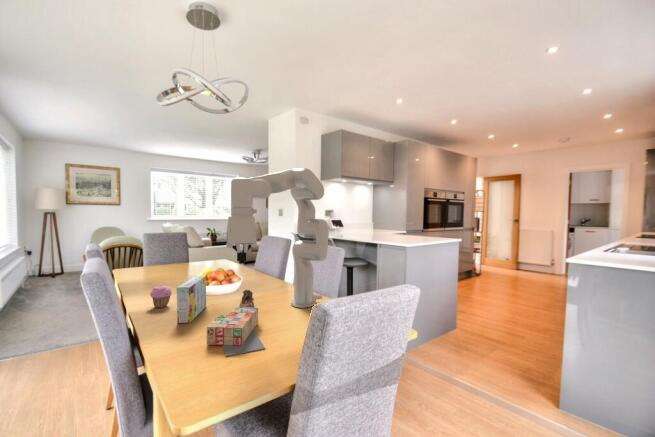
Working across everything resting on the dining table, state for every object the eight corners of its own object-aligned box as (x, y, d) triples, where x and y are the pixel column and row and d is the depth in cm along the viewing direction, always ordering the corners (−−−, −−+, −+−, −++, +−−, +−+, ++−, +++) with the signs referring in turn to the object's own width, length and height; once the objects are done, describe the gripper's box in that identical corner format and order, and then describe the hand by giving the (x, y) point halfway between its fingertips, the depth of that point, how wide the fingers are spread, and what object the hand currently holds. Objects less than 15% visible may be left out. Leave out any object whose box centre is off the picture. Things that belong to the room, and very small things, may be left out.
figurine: (258, 316, 132) (258, 288, 132) (248, 321, 125) (248, 292, 125) (245, 313, 135) (246, 286, 135) (234, 318, 128) (234, 290, 128)
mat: (249, 322, 124) (249, 321, 124) (265, 349, 100) (265, 348, 100) (216, 327, 118) (216, 326, 118) (225, 356, 95) (225, 355, 95)
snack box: (194, 307, 143) (194, 275, 143) (206, 307, 143) (206, 275, 143) (176, 323, 122) (176, 286, 121) (190, 323, 122) (190, 286, 122)
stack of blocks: (258, 322, 123) (228, 321, 123) (258, 307, 123) (228, 306, 123) (241, 346, 101) (205, 345, 102) (241, 327, 101) (205, 326, 102)
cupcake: (146, 308, 141) (146, 286, 140) (162, 302, 149) (162, 282, 148) (159, 310, 137) (159, 288, 137) (175, 305, 145) (175, 284, 145)
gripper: (260, 212, 115) (259, 260, 116) (218, 212, 109) (218, 262, 109) (265, 212, 108) (264, 263, 109) (221, 212, 102) (221, 266, 102)
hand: (241, 263), depth 109 cm, fingers closed
